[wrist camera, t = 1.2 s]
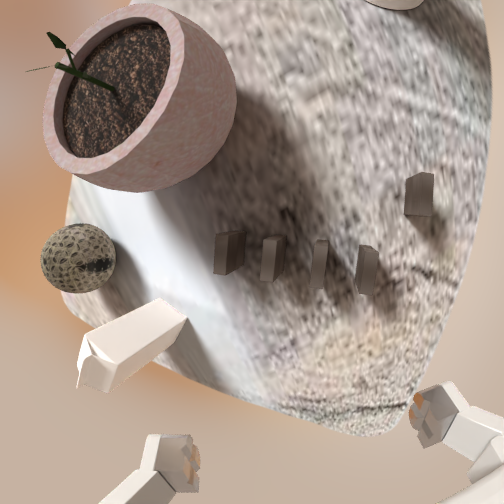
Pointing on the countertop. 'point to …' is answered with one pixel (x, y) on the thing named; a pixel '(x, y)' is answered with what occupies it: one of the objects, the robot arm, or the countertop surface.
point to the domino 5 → (419, 195)
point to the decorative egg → (78, 258)
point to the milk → (127, 344)
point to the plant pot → (139, 100)
